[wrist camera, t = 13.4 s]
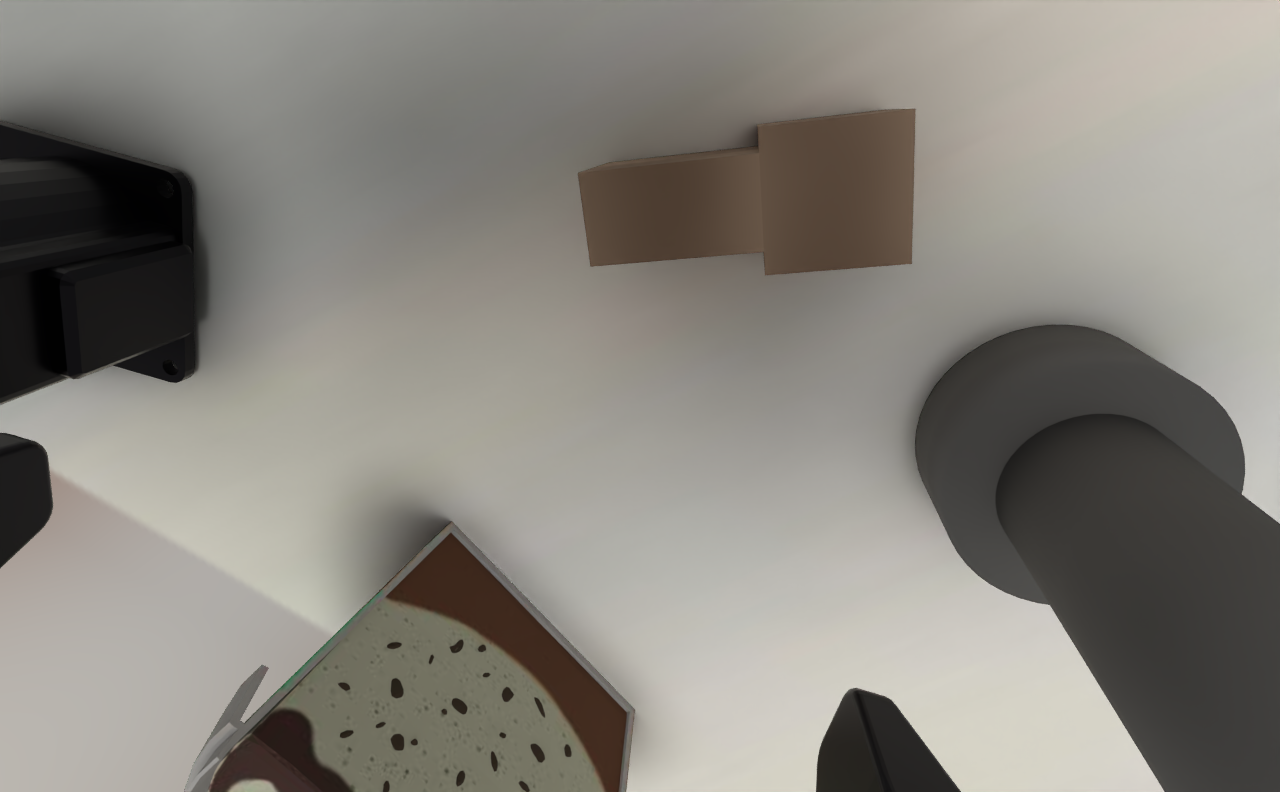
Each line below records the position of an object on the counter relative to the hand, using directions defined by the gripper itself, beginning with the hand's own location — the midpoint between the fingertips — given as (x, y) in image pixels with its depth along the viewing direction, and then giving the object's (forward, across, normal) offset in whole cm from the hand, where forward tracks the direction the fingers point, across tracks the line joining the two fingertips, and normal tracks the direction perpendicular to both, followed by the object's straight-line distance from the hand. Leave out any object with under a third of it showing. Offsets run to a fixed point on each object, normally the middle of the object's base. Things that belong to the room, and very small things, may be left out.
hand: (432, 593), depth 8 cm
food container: (+13, +2, +14) cm, 19 cm away
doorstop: (+13, -12, +1) cm, 18 cm away
